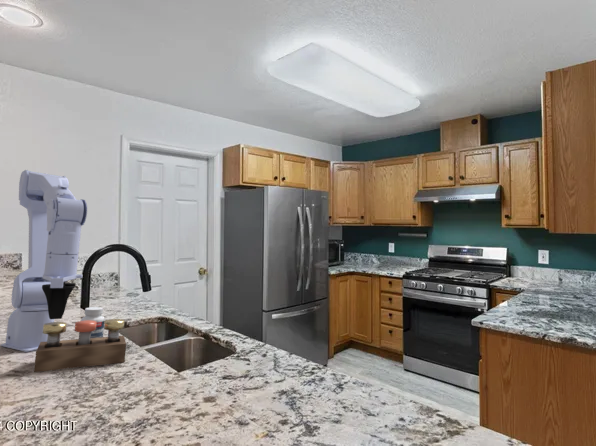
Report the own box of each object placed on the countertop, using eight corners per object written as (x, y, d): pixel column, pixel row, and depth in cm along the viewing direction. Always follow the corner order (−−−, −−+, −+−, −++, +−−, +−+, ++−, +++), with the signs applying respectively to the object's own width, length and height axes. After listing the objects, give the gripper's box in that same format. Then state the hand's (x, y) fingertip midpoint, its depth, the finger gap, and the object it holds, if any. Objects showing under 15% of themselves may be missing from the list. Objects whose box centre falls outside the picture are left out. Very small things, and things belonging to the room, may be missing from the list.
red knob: (72, 351, 72) (74, 325, 72) (73, 345, 75) (75, 321, 75) (94, 349, 74) (96, 323, 74) (94, 344, 77) (96, 319, 78)
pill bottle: (91, 347, 84) (94, 311, 85) (73, 345, 85) (76, 309, 86) (107, 342, 89) (110, 307, 90) (90, 339, 90) (93, 305, 91)
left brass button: (39, 354, 69) (42, 326, 69) (41, 348, 72) (44, 322, 73) (63, 351, 71) (66, 325, 71) (64, 346, 74) (67, 321, 75)
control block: (33, 372, 67) (36, 351, 67) (38, 361, 73) (40, 342, 73) (124, 362, 75) (126, 343, 76) (122, 352, 81) (123, 335, 82)
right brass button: (102, 348, 74) (104, 323, 75) (102, 343, 78) (104, 319, 78) (122, 346, 77) (125, 322, 77) (121, 341, 80) (123, 318, 80)
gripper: (83, 256, 69) (76, 324, 68) (85, 253, 81) (79, 311, 80) (40, 255, 65) (32, 327, 64) (48, 252, 78) (42, 312, 77)
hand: (55, 318), depth 72 cm, fingers closed
